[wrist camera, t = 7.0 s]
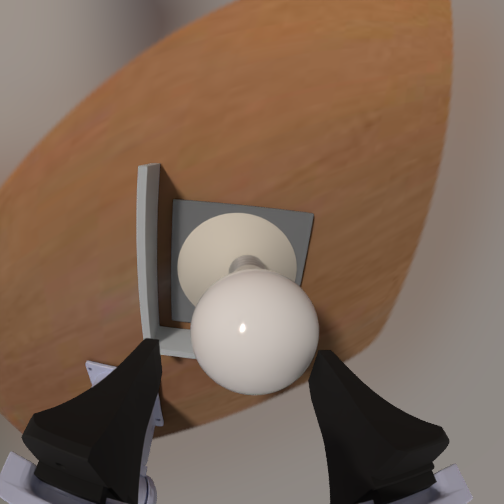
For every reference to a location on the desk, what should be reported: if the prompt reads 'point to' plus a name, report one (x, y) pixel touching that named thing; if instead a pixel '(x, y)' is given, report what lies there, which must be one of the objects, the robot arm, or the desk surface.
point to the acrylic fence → (154, 267)
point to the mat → (230, 245)
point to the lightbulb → (254, 329)
